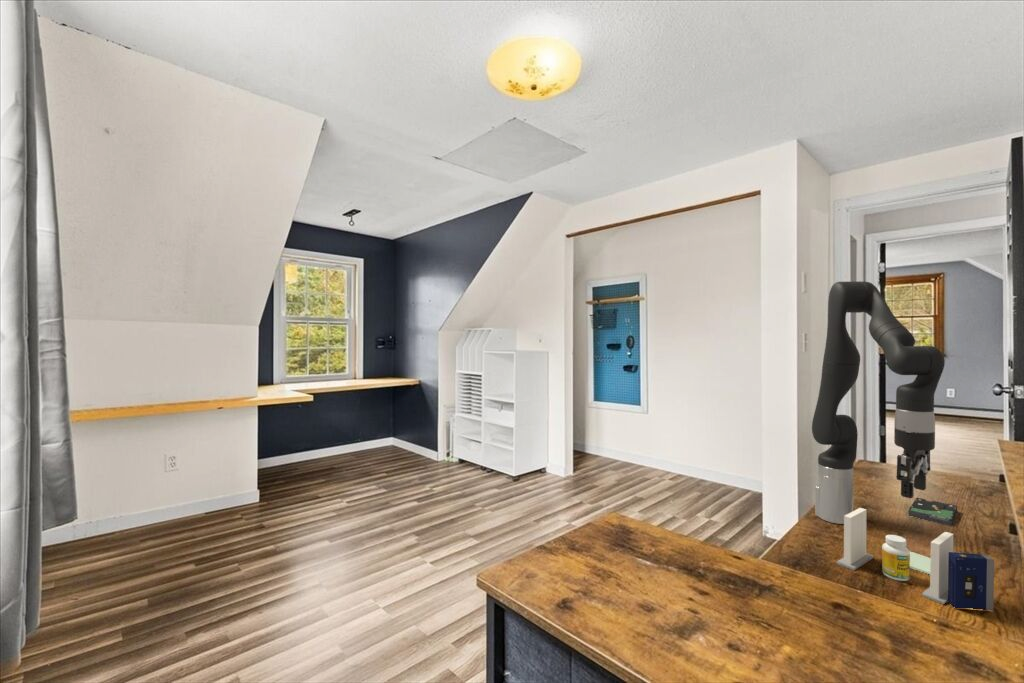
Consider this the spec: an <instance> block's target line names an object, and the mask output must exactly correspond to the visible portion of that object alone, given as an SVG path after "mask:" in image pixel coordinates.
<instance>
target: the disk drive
mask: <svg viewBox="0 0 1024 683" xmlns="http://www.w3.org/2000/svg"><path fill="white" fill-rule="evenodd" d="M908 508H909V509H908V513H907V514H908V515H909V516H913V517H917V518H916V519H918V518H920V519H919V520H922V519H924V520H923V521H926V520H928V521H927V522H931V521H933V522H932V523H935V522H937V523H936V524H939V523H940V525H944V526H948V527H952V526H953V523H954V521H955V518H956V516H957V514H958V506H957V505H954V504H949V503H945V502H941V501H935V500H932V501H931V500H930V501H929V500H926V499H925V498H920V497H916V498H915V499H914V501H913V502H912V504H911V506H910V507H908ZM909 516H908V517H909ZM913 517H912V518H913Z"/></svg>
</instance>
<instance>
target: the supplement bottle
mask: <svg viewBox="0 0 1024 683" xmlns="http://www.w3.org/2000/svg"><path fill="white" fill-rule="evenodd" d="M884 540H885V542H884V543H883V544H882V545H881V565H882V566H881V567H882V568H881V569H882V570H881V571H882V573H883V575H884V576H885V577H887V578H889V579H891V580H895V581H897V582H898V581H899V582H906V581H909V580H910V578H911V577H910V575H911V574H910V571H911V570H910V569H911V568H910V551H911V550H909V548H908V547H907V539H906V538H904V537H902V536H901V535H896V534H887V535H885V539H884Z"/></svg>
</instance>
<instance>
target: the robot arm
mask: <svg viewBox="0 0 1024 683" xmlns="http://www.w3.org/2000/svg"><path fill="white" fill-rule="evenodd" d="M847 313H854V314H855V313H857V314H859V313H865V314H867V315H868V316H869V317H870V321H869V324H868V332H869V334H870V336H871V337H872V340H874V342H876V344H877V345H878V347H880V348H881V349H882V351H883V355H884V357H885V361H886V365H887V367H888V369H889V370H890V371H892V372H893V373H895V374H896V375H900V376H916V377H915V379H914V380H913V381H912V382H910V383H906V384H901V385H899V386H898V387H897V388H896V390H895V413H894V429H893V430H894V441H893V442H894V444H895V446H896V447H899V448H902V449H903V451H902V453H901V454H898V455H897V457H896V477H895V479H896V480H897V481H900V495H901V497H903V498H906V499H913V498H914V491H915V490H921V491H925V490H926V489H927V475H928V474H929V472H930V471H931V451H932V450H935V447H936V418H935V393H936V391H937V388H938V385H939V382H940V380H941V377H942V374H943V372H944V368H945V365H946V363H945V362H946V359H945V357H944V354H943V352H942V351H941V350H940V349H939V348H938V347H937V346H933V345H932V346H931V345H916V346H915V344H916V339H915V336H914V335H913V333H912V332H911V331H910V330H908V328H906V326H904V325H903V324H902V323H901V322H900V321H899V319H897V317H896V316H895V315H894V314H893V312H892V311H891V309H890V306H889V305H888V303H887V301H886V299H885V298H884V297H883V296H882V294H881V292H880V291H879V289H878V288H877V287H876V285H874V284H873V283H872V282H869V281H861V280H860V281H836V282H834V283H833V284H832V286H831V287H830V291H829V293H828V302H827V328H826V329H827V330H826V340H825V347H824V353H823V360H822V367H821V378H820V385H819V391H818V397H817V401H816V405H815V409H814V412H813V417H812V423H811V433H812V437H813V439H814V440H815V442H817V444H820V445H822V446H823V445H824V446H825V445H826V446H827V445H828V446H829V448H828V449H826V450H824V451H822V452H820V453H819V454H818V456H817V485H816V486H815V487H814V503H815V504H814V515H816V517H818V518H819V519H822V520H823V521H826V522H828V523H832V524H833V523H834V524H839V525H844V516H845V515H847V514H849V513H851V512H853V511H854V463H855V461H856V459H857V448H858V433H859V432H858V427H857V424H856V421H855V420H854V419H853V417H851V416H850V415H846V414H837V412H838V408H839V406H840V404H841V402H842V400H843V399H844V398H845V396H846V395H847V394H848V392H849V391H850V390H851V389H852V387H853V386H854V384H855V383H856V381H857V380H858V378H859V372H860V371H859V370H860V363H861V354H860V352H859V350H858V348H857V346H856V344H855V342H854V341H853V339H852V338H851V336H850V334H849V332H848V329H847V322H846V320H847V318H846V317H847ZM830 445H831V446H830ZM914 489H915V490H914Z"/></svg>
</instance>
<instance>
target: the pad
mask: <svg viewBox="0 0 1024 683" xmlns="http://www.w3.org/2000/svg"><path fill="white" fill-rule="evenodd" d="M909 551H910V569H911V570H914V571H916V570H918V571H917V572H919V571H920V572H919V573H922V572H924V573H923V574H925V573H927V574H926V575H928V574H929V575H928V576H930V564H931V557H928V556H926V555H922V554H919V553H916V552H913V551H911V550H909Z"/></svg>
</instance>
